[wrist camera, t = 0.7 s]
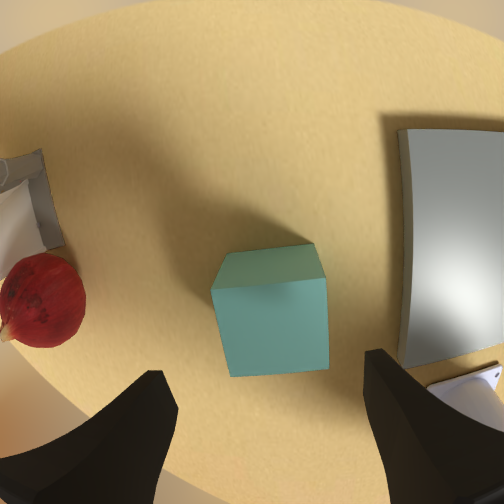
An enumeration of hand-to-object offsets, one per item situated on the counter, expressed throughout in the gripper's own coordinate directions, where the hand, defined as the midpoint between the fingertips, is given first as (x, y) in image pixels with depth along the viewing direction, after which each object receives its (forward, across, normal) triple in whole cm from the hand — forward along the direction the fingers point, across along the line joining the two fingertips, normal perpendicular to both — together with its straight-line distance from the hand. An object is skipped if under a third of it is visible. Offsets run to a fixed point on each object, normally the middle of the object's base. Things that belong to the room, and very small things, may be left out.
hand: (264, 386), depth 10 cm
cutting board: (+9, -15, 0) cm, 18 cm away
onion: (+9, +14, -2) cm, 17 cm away
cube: (+9, 0, 0) cm, 9 cm away
